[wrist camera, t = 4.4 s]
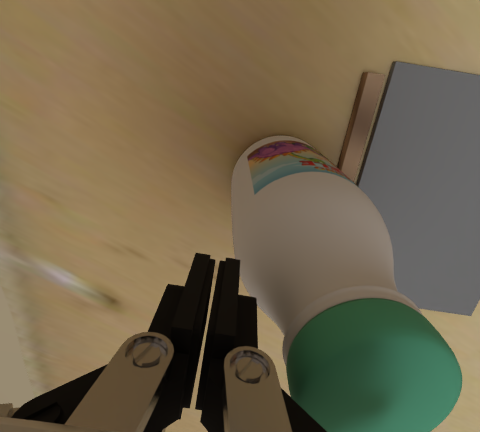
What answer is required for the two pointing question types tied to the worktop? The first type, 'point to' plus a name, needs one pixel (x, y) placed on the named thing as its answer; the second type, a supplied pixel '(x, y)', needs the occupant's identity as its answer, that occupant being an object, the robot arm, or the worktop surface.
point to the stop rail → (360, 123)
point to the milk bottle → (336, 295)
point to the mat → (429, 183)
